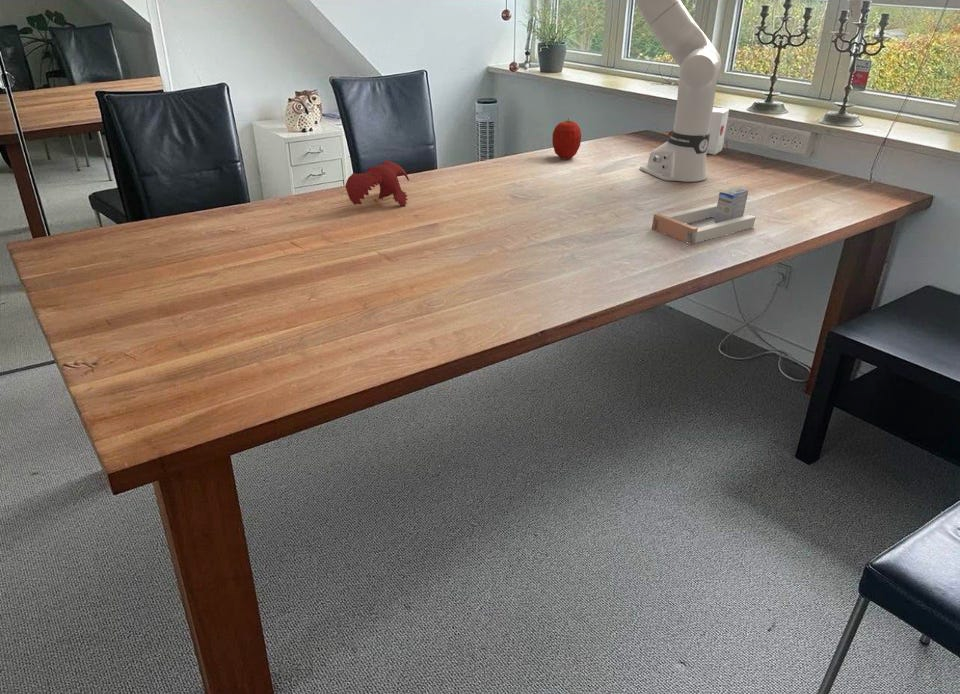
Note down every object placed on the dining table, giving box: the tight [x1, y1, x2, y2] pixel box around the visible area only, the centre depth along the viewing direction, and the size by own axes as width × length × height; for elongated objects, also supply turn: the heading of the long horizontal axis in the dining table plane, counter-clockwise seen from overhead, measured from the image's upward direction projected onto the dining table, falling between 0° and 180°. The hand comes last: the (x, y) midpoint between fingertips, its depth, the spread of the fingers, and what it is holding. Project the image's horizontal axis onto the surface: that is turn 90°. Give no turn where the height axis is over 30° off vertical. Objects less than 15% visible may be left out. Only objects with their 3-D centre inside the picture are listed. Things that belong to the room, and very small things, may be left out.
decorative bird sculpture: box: [345, 160, 410, 207], centre depth 199 cm, size 28×9×15 cm
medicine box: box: [713, 186, 749, 224], centre depth 188 cm, size 8×4×9 cm, turn 135°
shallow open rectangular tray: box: [651, 202, 756, 245], centre depth 185 cm, size 14×24×4 cm, turn 123°
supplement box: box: [706, 106, 730, 155], centre depth 257 cm, size 9×9×15 cm
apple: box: [551, 117, 582, 160], centre depth 245 cm, size 10×10×14 cm
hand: (855, 17), depth 192 cm, fingers open, 8 cm apart
